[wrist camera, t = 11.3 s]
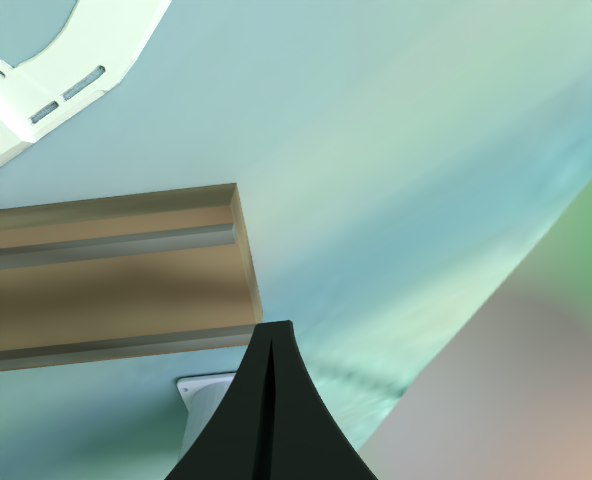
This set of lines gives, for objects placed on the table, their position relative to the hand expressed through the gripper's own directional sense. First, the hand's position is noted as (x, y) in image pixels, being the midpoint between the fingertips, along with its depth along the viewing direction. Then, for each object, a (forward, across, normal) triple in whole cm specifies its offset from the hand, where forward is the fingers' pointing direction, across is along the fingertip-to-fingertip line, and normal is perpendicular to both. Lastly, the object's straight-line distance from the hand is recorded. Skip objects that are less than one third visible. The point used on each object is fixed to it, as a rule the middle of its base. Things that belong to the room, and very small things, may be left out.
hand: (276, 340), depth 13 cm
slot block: (+9, +13, +2) cm, 16 cm away
